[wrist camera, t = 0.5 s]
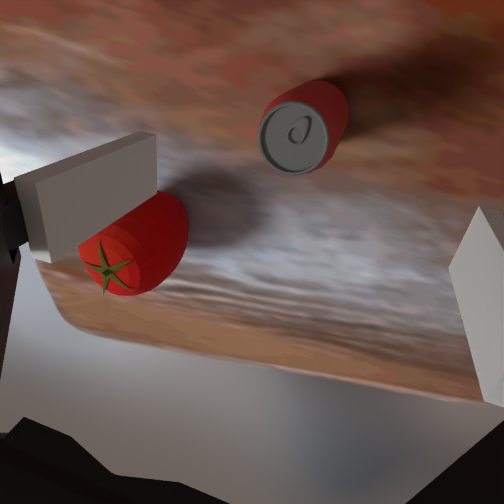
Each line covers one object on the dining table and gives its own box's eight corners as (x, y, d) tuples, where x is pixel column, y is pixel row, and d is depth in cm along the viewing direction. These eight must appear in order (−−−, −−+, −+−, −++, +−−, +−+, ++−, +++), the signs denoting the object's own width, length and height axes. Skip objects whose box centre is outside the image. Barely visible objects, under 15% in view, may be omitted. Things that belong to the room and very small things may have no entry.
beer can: (363, 104, 36) (355, 127, 26) (324, 159, 40) (303, 198, 30) (308, 65, 36) (279, 74, 26) (273, 124, 40) (236, 151, 30)
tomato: (173, 271, 54) (114, 334, 42) (113, 217, 53) (35, 267, 41) (223, 218, 47) (169, 276, 36) (156, 155, 46) (76, 193, 34)
